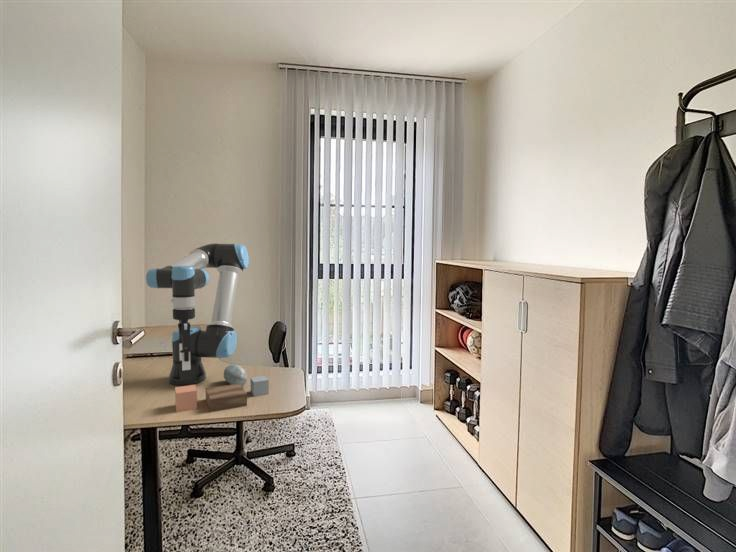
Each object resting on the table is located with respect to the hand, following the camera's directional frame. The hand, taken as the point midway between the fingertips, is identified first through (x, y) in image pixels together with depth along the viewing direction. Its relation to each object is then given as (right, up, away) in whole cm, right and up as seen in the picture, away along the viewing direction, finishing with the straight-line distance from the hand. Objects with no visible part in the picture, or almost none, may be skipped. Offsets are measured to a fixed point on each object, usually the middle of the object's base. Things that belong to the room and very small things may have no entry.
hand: (184, 364), depth 158 cm
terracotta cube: (0, -16, +2) cm, 16 cm away
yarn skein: (+11, -14, +26) cm, 32 cm away
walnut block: (+13, -16, +6) cm, 22 cm away
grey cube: (+23, -15, +17) cm, 33 cm away
